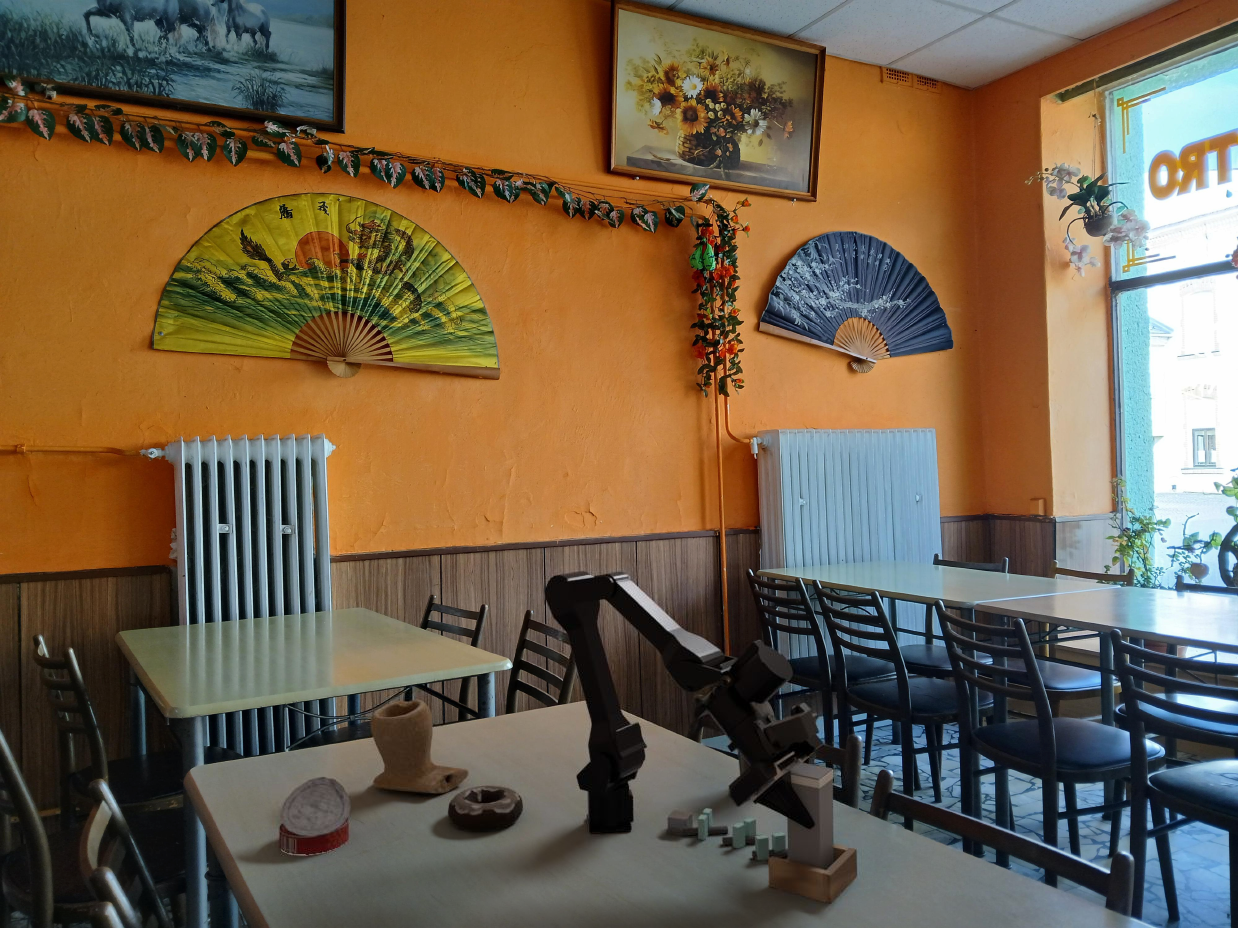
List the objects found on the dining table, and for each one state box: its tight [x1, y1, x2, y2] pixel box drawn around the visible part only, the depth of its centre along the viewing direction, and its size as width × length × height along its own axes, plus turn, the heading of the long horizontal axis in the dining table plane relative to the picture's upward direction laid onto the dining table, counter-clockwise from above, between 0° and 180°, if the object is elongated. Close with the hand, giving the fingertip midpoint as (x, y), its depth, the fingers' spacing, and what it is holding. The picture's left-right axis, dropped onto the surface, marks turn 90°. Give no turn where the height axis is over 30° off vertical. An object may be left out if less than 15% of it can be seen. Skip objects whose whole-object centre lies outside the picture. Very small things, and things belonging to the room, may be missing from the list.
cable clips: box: [697, 807, 787, 861], centre depth 129 cm, size 6×14×3 cm, turn 46°
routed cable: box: [682, 825, 788, 859], centre depth 129 cm, size 13×10×1 cm
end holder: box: [768, 843, 858, 904], centre depth 117 cm, size 8×9×4 cm
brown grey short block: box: [667, 809, 694, 837], centre depth 134 cm, size 3×3×2 cm
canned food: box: [278, 776, 352, 855], centre depth 133 cm, size 11×10×10 cm
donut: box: [447, 784, 524, 832], centre depth 140 cm, size 12×12×4 cm
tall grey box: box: [786, 763, 835, 870], centre depth 117 cm, size 5×5×13 cm
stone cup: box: [370, 699, 470, 794], centre depth 154 cm, size 15×12×15 cm
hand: (819, 820), depth 117 cm, fingers closed on tall grey box, 4 cm apart
